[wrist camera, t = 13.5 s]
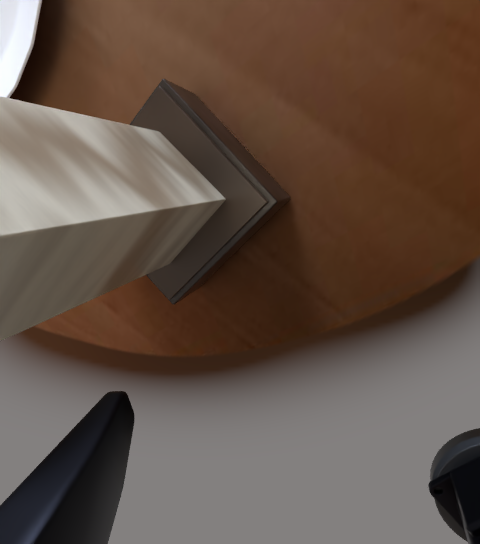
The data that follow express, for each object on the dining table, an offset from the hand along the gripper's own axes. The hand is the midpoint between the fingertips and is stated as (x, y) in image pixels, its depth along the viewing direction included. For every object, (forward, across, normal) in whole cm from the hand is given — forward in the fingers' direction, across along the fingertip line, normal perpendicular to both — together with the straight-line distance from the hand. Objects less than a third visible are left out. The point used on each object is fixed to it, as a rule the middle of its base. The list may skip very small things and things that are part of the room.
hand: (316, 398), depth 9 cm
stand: (+15, +5, +1) cm, 16 cm away
